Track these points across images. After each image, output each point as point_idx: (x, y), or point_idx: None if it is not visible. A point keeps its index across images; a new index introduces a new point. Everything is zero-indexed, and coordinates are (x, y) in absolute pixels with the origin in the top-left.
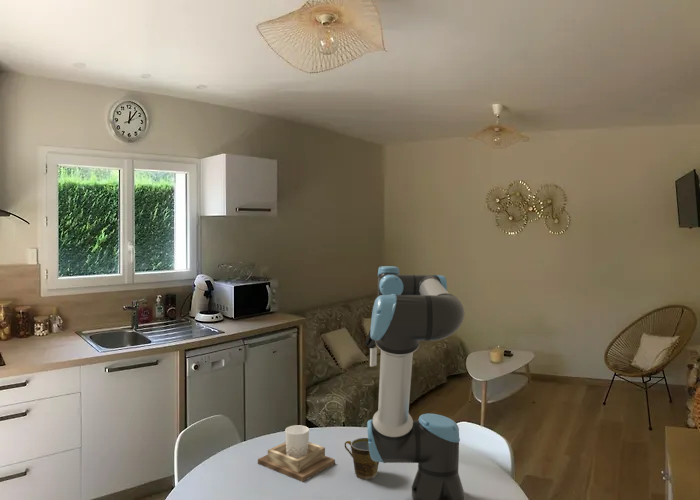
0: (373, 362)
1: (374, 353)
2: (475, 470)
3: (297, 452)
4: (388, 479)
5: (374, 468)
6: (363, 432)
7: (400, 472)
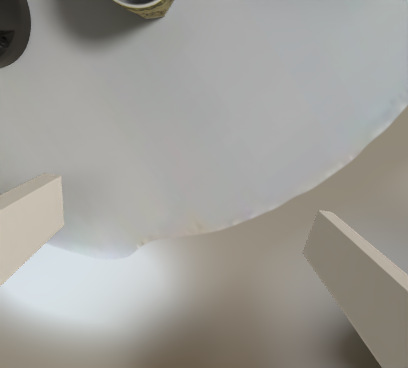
0: (325, 242)
1: (369, 307)
2: (13, 169)
3: None
4: (99, 8)
5: None
6: (279, 177)
7: (104, 60)
